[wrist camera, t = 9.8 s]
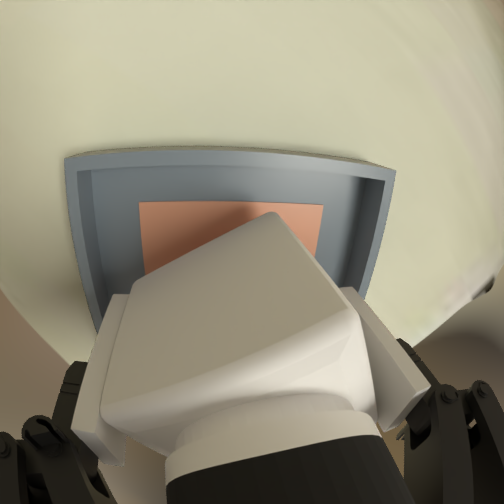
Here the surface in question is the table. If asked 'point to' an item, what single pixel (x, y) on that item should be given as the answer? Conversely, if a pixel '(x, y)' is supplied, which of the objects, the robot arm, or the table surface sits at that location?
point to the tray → (218, 209)
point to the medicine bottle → (250, 377)
